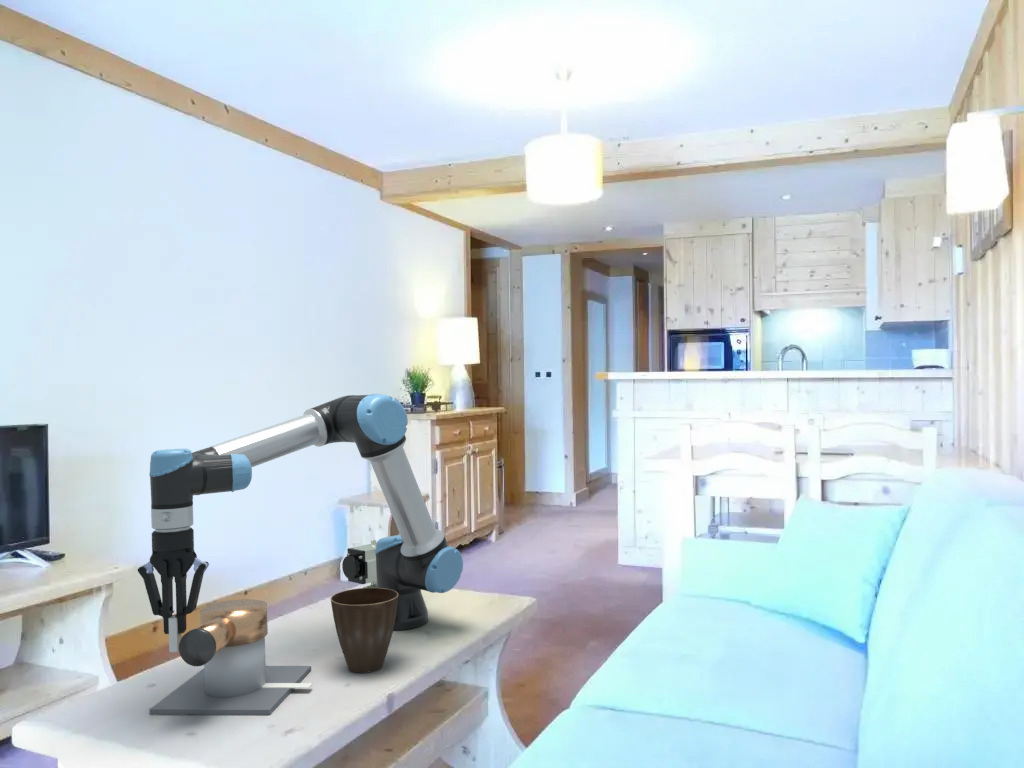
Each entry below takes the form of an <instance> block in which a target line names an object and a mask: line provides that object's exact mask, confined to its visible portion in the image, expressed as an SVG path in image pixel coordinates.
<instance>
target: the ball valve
mask: <svg viewBox="0 0 1024 768" xmlns="http://www.w3.org/2000/svg"><path fill="white" fill-rule="evenodd" d="M376 543H377V540H376V539H371V540H370V543H368V544H363V545H359V546H354V547H350V548H347V553H346V556H345V557H344V558H343V560H342V565H341V566H342V567H341V568H342V572H343V574H344V576H345V578H347V579H348V582H351V583H356V584H361V585H366V584H369V585H366V586H363V587H362V588H377V572H376V555H375V553H376Z"/></svg>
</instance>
